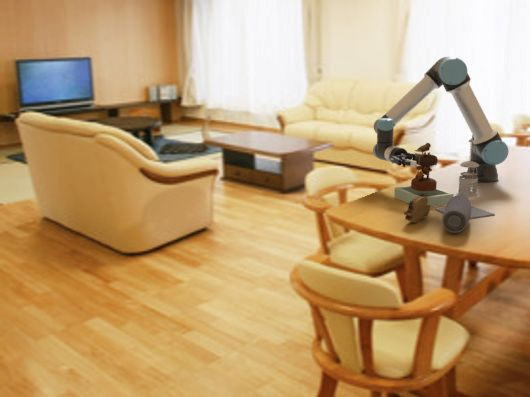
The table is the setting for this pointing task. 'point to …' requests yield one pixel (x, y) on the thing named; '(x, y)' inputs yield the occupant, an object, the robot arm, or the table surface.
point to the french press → (468, 179)
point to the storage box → (434, 197)
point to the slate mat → (473, 212)
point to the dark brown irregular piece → (424, 170)
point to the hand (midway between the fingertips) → (426, 163)
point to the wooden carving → (417, 209)
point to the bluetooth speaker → (457, 214)
